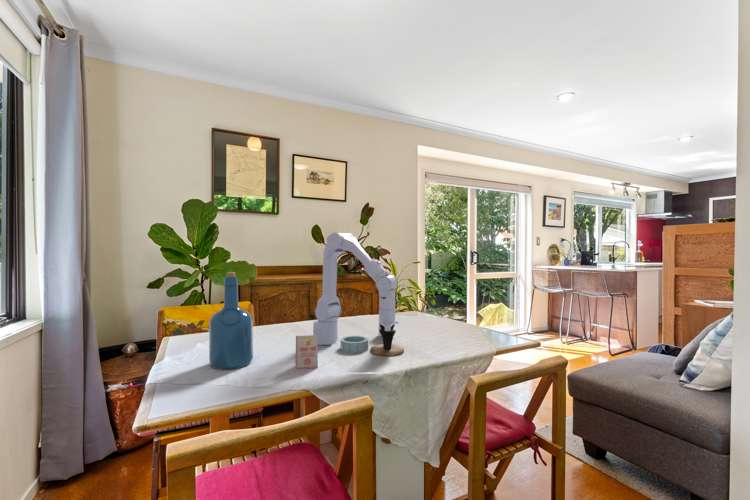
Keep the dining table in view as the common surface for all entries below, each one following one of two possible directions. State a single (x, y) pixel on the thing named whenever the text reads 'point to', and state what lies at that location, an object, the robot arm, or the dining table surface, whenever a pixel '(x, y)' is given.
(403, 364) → the dining table surface
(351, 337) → the bowl
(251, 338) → the wine bottle
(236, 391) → the dining table surface
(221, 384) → the dining table surface
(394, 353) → the lid
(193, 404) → the dining table surface
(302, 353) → the beige printed carton
